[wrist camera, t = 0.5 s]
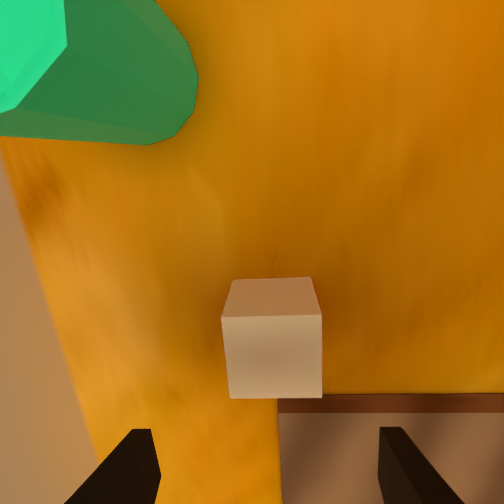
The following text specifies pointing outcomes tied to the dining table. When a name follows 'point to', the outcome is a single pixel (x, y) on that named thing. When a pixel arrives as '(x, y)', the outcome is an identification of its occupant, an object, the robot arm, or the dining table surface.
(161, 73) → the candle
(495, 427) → the walnut board
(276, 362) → the cube
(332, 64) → the dining table surface
